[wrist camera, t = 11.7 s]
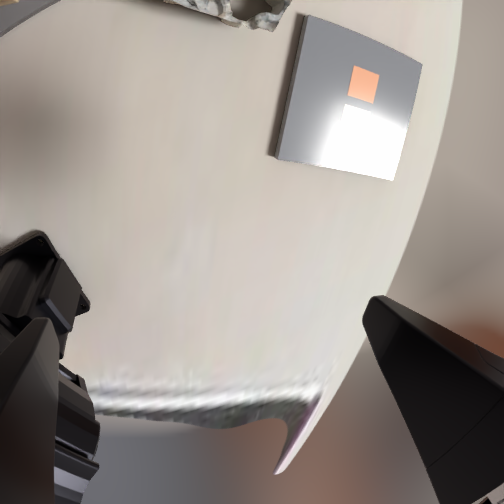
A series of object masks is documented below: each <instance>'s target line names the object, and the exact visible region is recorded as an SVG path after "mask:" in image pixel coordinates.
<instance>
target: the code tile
mask: <svg viewBox="0 0 504 504" xmlns="http://www.w3.org/2000/svg"><path fill="white" fill-rule="evenodd" d="M421 69H422V64H421V63H419V62H417V61H416V60H414V59H412V58H410V57H408V56H406V55H404V54H402V53H400V52H398V51H396V50H394V49H392V48H390V47H388V46H386V45H384V44H382V43H380V42H377V41H375V40H373V39H371V38H368V37H366V36H364V35H361V34H359V33H357V32H354V31H352V30H349V29H347V28H344V27H342V26H339V25H336V24H334V23H331V22H328V21H325V20H323V19H320V18H317V17H314V16H311V15H307V16H304V21H303V26H302V30H301V35H300V40H299V45H298V49H297V54H296V59H295V63H294V68H293V73H292V77H291V82H290V87H289V92H288V96H287V101H286V106H285V110H284V115H283V120H282V124H281V129H280V134H279V138H278V143H277V148H276V152H275V158H276V159H277V160H283V161H289V162H296V163H303V164H309V165H315V166H321V167H327V168H332V169H338V170H343V171H349V172H354V173H359V174H364V175H369V176H374V177H379V178H383V179H388V180H392V181H393V178H394V175H395V171H396V168H397V165H398V161H399V158H400V155H401V151H402V148H403V144H404V140H405V137H406V133H407V129H408V125H409V121H410V118H411V114H412V110H413V105H414V101H415V97H416V93H417V88H418V84H419V79H420V74H421Z"/></svg>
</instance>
